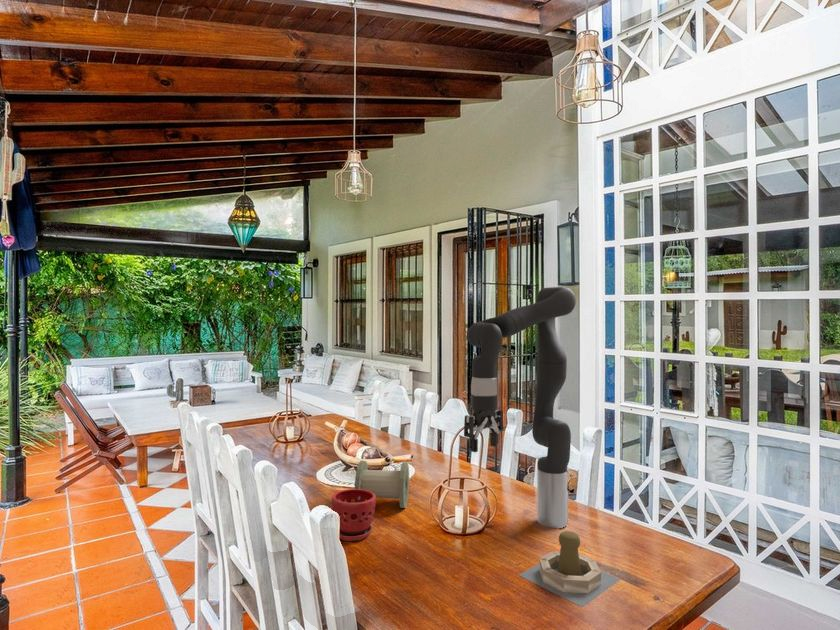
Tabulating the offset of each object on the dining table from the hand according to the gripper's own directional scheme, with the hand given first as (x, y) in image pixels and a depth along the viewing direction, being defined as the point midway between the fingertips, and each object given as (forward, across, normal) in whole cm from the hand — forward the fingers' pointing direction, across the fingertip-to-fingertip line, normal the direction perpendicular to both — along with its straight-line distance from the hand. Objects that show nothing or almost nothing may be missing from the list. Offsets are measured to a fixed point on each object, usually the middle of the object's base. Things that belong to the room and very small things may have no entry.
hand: (484, 448), depth 143 cm
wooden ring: (+28, -3, +26) cm, 38 cm away
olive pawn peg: (+28, -3, +26) cm, 38 cm away
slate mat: (+28, -3, +26) cm, 38 cm away
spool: (+28, +4, -43) cm, 52 cm away
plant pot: (+28, +24, -31) cm, 48 cm away
